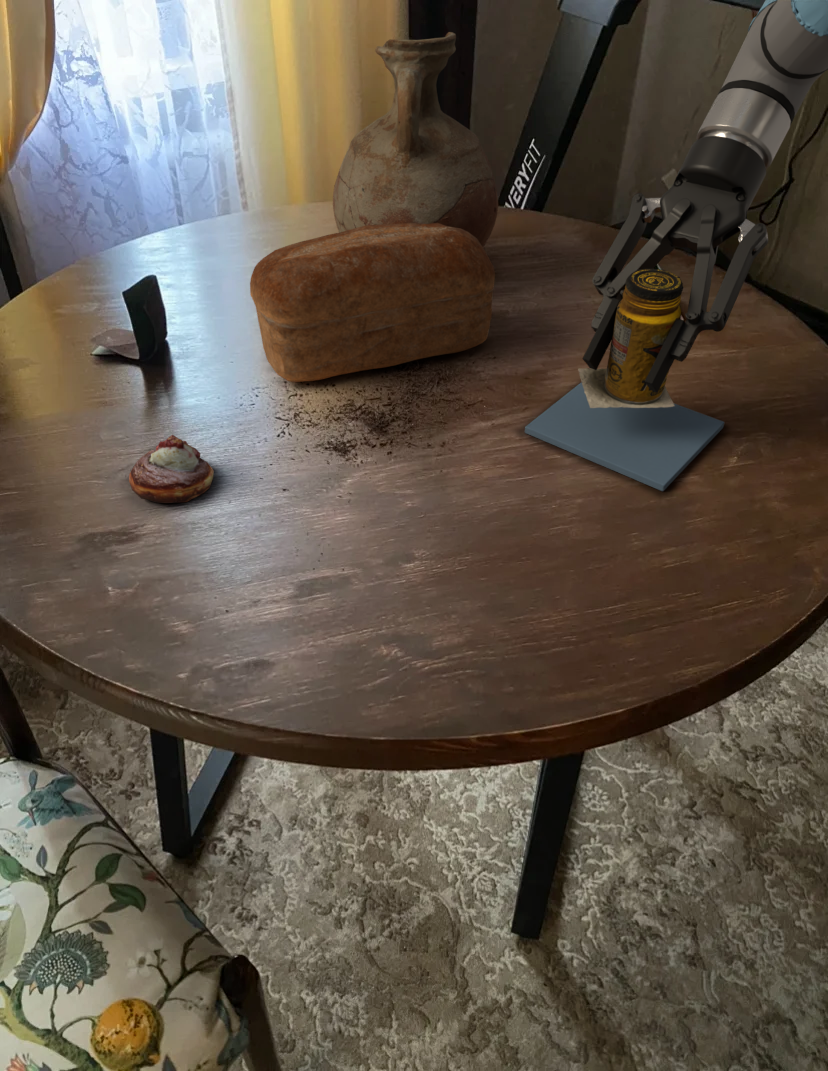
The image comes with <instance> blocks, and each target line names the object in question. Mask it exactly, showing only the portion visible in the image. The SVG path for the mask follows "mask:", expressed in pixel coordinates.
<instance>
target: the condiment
mask: <svg viewBox="0 0 828 1071" xmlns="http://www.w3.org/2000/svg"><path fill="white" fill-rule="evenodd" d="M625 284H626V286H625V290H624V292H623V299H622V300H621V301H620V302H619V303H618V306H617V312H616V317H615V323H614V329H613V335H612V340H611V342H610V347H609V353H608V360H607V365H606V368H597V370H594V369H591V368H589V367H585V368H577V371H578V375H579V378H580V381H581V382H582V385H583V388H584V393H585V394H586V397H587V400H588V403H589V406H590V408H599V407H600V408H607V407H628V408H629V407H630V408H650V407H652V408H658V407H673V406H675V405H674V404H675V403H674V401H673V399H672V397H671V396H670V393H669V392H668V389H667V387H666V383H667V380H668V375H669V372H670V370H669V371H668V373H667V375H666V377H665V379H664V381H663V383H662V385H661V387H660V389H659V391H658V393H657V392H654V391H651V390H650V389H649V387H648V386H647V384H646V382H645V380H646V378H647V376H648V374H649V372H650V370H651V368H652V366H653V364H654V362H655V360H656V358H657V356H658V354H659V352H660V350H661V348H662V346H663V344H664V342H665V340H666V338H667V336H668V334H669V332H670V330H671V328H672V326H673V324H674V322H675V320H676V318H678V319H681V317H682V308H681V307H680V304H681V302H682V301H681V300H682V293H683V290H684V283H683V281H682V278H681V277H680V276H678V275H676V274H675V273H673V272H671V271H667V270H664V269H658V268H653V269H640V270H637V271H635V272H633V273H631V274H630V275H629V277H628V278H627V280H626V283H625ZM681 320H682V319H681Z"/></svg>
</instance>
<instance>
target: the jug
mask: <svg viewBox="0 0 828 1071" xmlns="http://www.w3.org/2000/svg"><path fill="white" fill-rule="evenodd" d="M456 40H457V34H456V33H454V32H452V31H448V32H447V33H446V34H445V35H444V36H443V37H434V38H425V39H399V38H397V39H396V38H395V39H393V38H392V39H388V40H386V42H384V44H383V45H381V46H380V45H378V46H376V47H375V48H374V49H375V50H374V52H375V53H376V54H377V55H378V56H379V57H381V59H382V61H383V63H384V67H385V68H386V69H387V70H388V71H389V72H390V74H391V76H392V78H393V84H394V96H393V100H392V104H391V108H390V109H389V111H387V113H385V114H384V115H382V116H380V117H378V118H377V119H375V120H374V121H373V122H371V123H370V124H368V125H367V126H366V127H364V128H363V129H361V130H360V131H359V132H358V133H357V134H355V135H354V137H353V138H352V139H351V140H350V143H349V146H348V148H347V150H346V153H345V154H344V157H343V159H342V161H341V164H340V167H339V170H338V173H337V176H336V179H335V183H334V185H333V194H332V210H333V216H334V221H335V225H336V228H337V231H338V233H340V232H344V231H347V230H351V229H355V228H358V227H362V226H366V225H390V224H406V223H417V224H432V223H439V224H442V225H445V226H449V227H455V228H461V229H463V230H465V231H467V232H469V233H470V234H471V235H473V236H474V237H476V238H477V239H478V241H479V242H480V244H481V245H482V247H483V248H484V247H485V245H486V244H487V242H488V240H489V238H490V236H491V235H492V232H493V230H494V227H495V225H496V222H497V218H498V210H499V198H498V191H497V190H498V189H497V186H496V181H495V176H494V173H493V169H492V166H491V163H490V161H489V159H488V156H487V154H486V152H485V151H484V148H483V146H482V144H481V142H480V139H479V137H478V135H476V134H475V133H474V132H473V131H472V130H470V129H469V128H467V127H466V126H465V125H463V124H462V123H460V122H459V121H457V120H456V119H455V118H453V117H451V116H450V115H448V114H446V113H445V112H443V111H442V109H441V106H440V103H439V98H438V91H437V81H438V77H439V75H440V73H441V72H442V71H443V70H444V69H445V68H446V66H447V64H448V61H449V58H450V57H451V56H452V55H453V54H454V53H455V52H456V50H457V47H456Z"/></svg>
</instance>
